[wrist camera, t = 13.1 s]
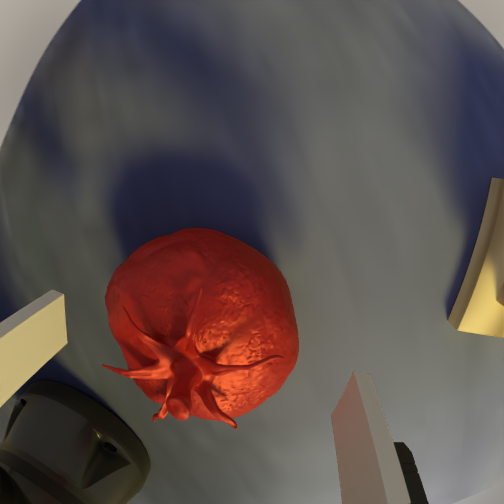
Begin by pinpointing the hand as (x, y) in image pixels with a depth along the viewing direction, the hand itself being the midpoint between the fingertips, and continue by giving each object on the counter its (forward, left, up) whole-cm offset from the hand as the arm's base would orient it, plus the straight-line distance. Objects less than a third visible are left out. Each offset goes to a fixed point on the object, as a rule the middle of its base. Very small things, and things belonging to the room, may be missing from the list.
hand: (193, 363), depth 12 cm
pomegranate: (0, 0, -7) cm, 7 cm away
